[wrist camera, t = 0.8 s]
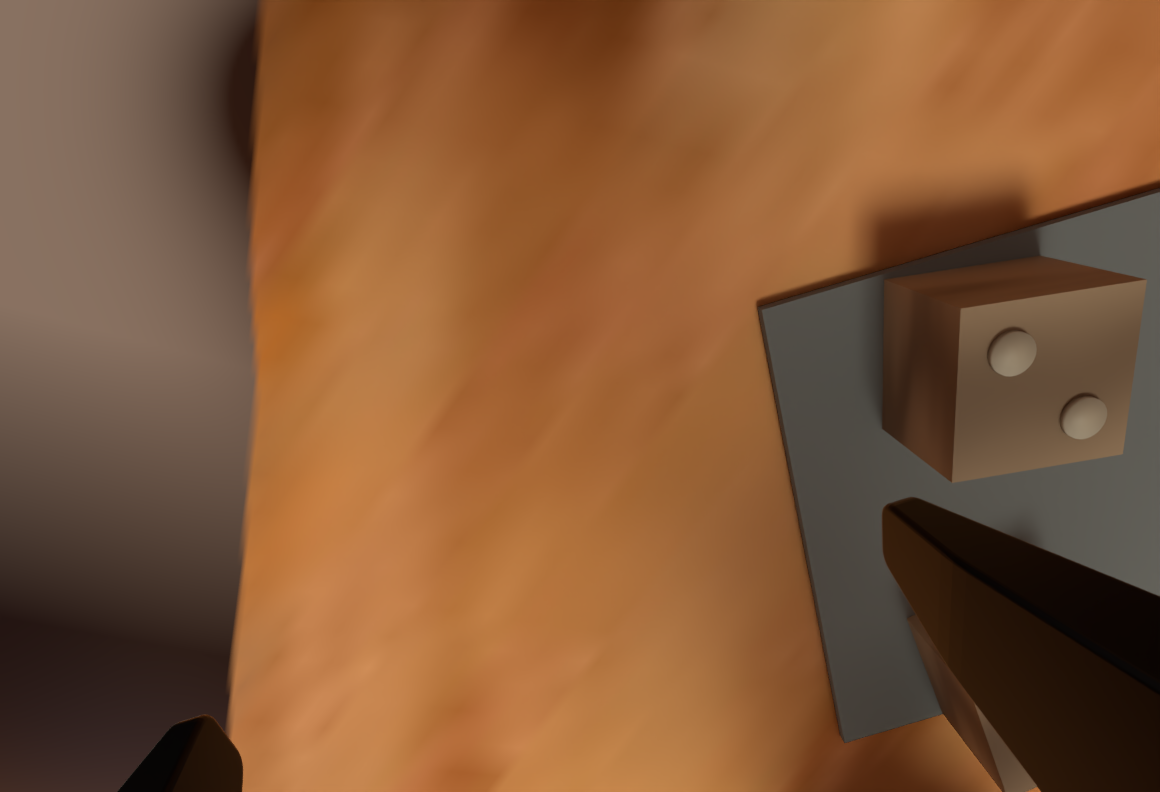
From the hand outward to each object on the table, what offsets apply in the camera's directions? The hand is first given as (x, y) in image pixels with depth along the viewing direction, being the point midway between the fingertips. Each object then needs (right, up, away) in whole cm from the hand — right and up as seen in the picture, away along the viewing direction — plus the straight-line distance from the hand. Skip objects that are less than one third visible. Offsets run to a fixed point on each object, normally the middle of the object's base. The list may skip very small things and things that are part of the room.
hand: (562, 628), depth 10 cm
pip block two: (+12, +5, +14) cm, 19 cm away
